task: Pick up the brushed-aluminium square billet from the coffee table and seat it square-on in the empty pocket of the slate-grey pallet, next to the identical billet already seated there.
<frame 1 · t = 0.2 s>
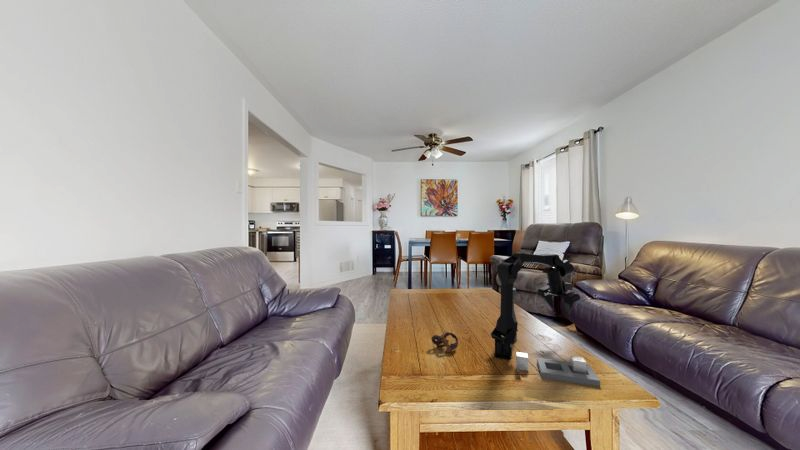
hand: (561, 311, 134), 15 cm above the table, tool pointing down, fingers open, 9 cm apart
billet: (522, 370, 110), on the table
pallet: (566, 376, 105), on the table
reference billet: (578, 375, 104), point 1 cm above the table, touching pallet
pottery mug: (444, 349, 130), on the table
candle holder: (510, 339, 140), on the table
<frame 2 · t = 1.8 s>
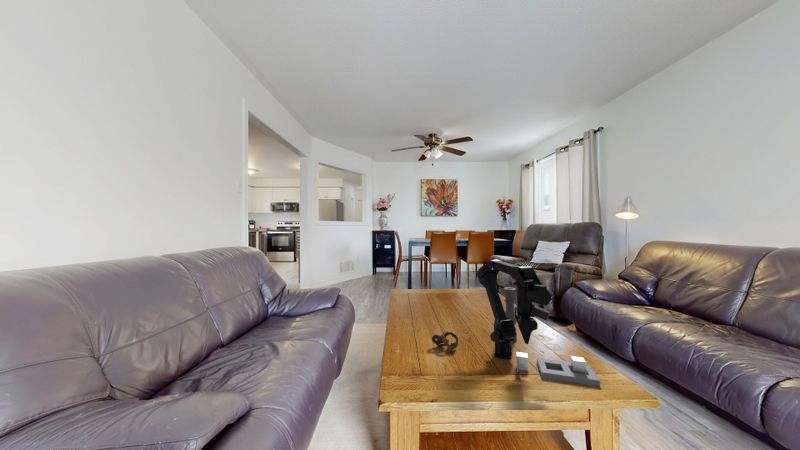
hand: (524, 339, 110), 12 cm above the table, tool pointing down, fingers open, 9 cm apart
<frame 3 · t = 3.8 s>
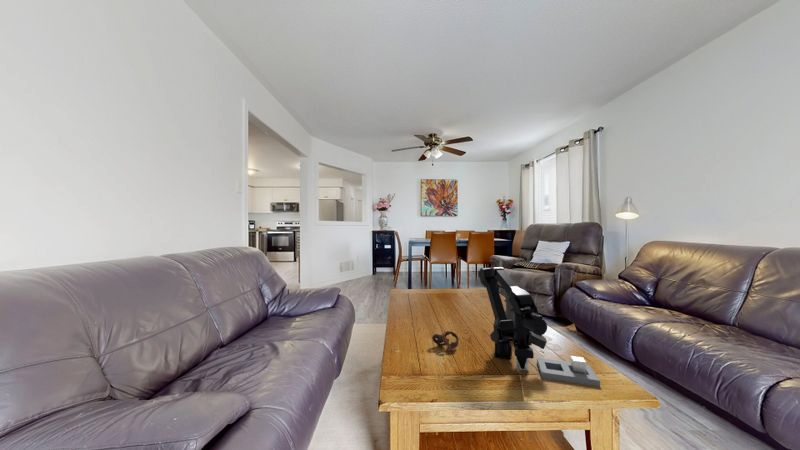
hand: (522, 366, 110), 2 cm above the table, tool pointing down, fingers closed on billet, 4 cm apart
billet: (522, 370, 110), on the table, touching gripper
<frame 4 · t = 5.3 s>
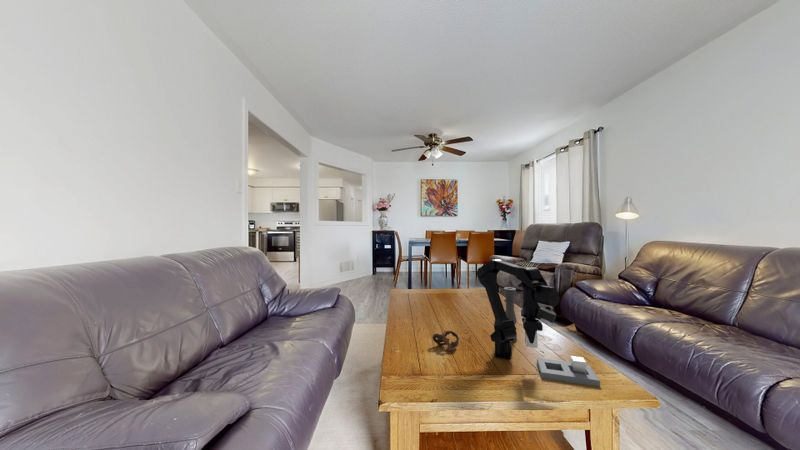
hand: (531, 341, 109), 12 cm above the table, tool pointing down, fingers closed on billet, 4 cm apart
billet: (531, 345, 109), point 10 cm above the table, touching gripper
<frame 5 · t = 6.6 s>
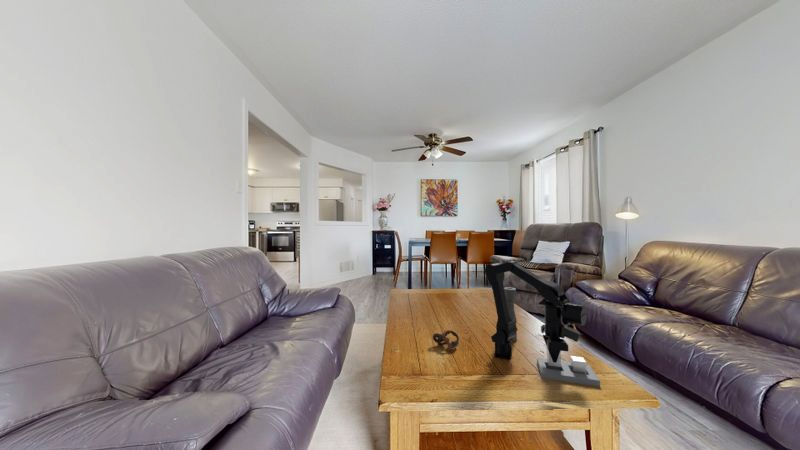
hand: (553, 359, 106), 6 cm above the table, tool pointing down, fingers closed on billet, 4 cm apart
billet: (553, 363, 106), point 4 cm above the table, touching gripper
when the fingers open (3 cm above the table, at t = 7.3 s): billet stays where it is, resting on pallet.
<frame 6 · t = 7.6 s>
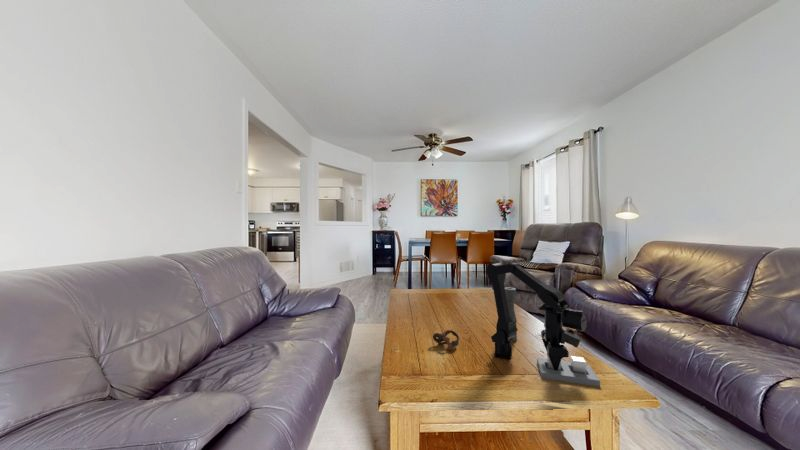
hand: (553, 365, 106), 3 cm above the table, tool pointing down, fingers open, 8 cm apart
billet: (553, 371, 106), point 1 cm above the table, touching pallet
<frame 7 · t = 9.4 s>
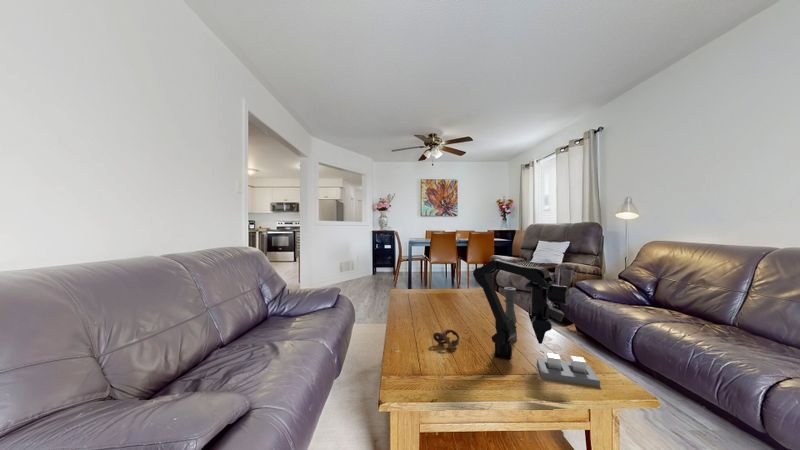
hand: (538, 338, 112), 11 cm above the table, tool pointing down, fingers open, 9 cm apart
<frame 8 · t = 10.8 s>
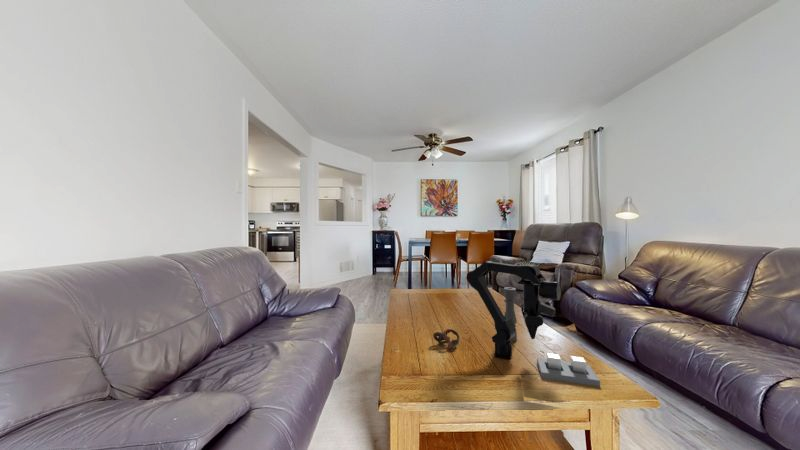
hand: (531, 334, 114), 12 cm above the table, tool pointing down, fingers open, 9 cm apart
at the end: billet 0.0 cm from the target spot on the pallet, point 1.0 cm above the pallet's base; billet tilted 0°; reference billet moved 0.0 cm from its start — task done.
